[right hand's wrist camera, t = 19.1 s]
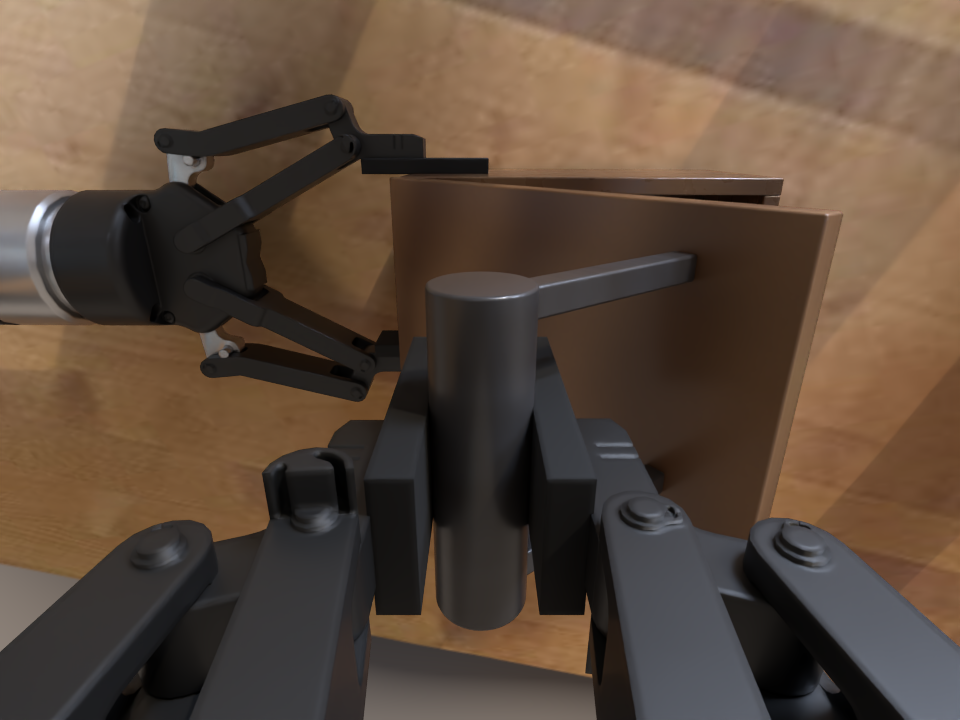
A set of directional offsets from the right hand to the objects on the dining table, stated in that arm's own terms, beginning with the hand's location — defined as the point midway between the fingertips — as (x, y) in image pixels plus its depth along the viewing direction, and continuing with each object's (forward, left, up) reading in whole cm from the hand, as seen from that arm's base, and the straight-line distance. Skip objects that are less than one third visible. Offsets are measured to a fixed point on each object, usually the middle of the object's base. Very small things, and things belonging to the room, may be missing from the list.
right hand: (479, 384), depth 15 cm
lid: (-1, +2, -6) cm, 6 cm away
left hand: (0, 0, -17) cm, 17 cm away
